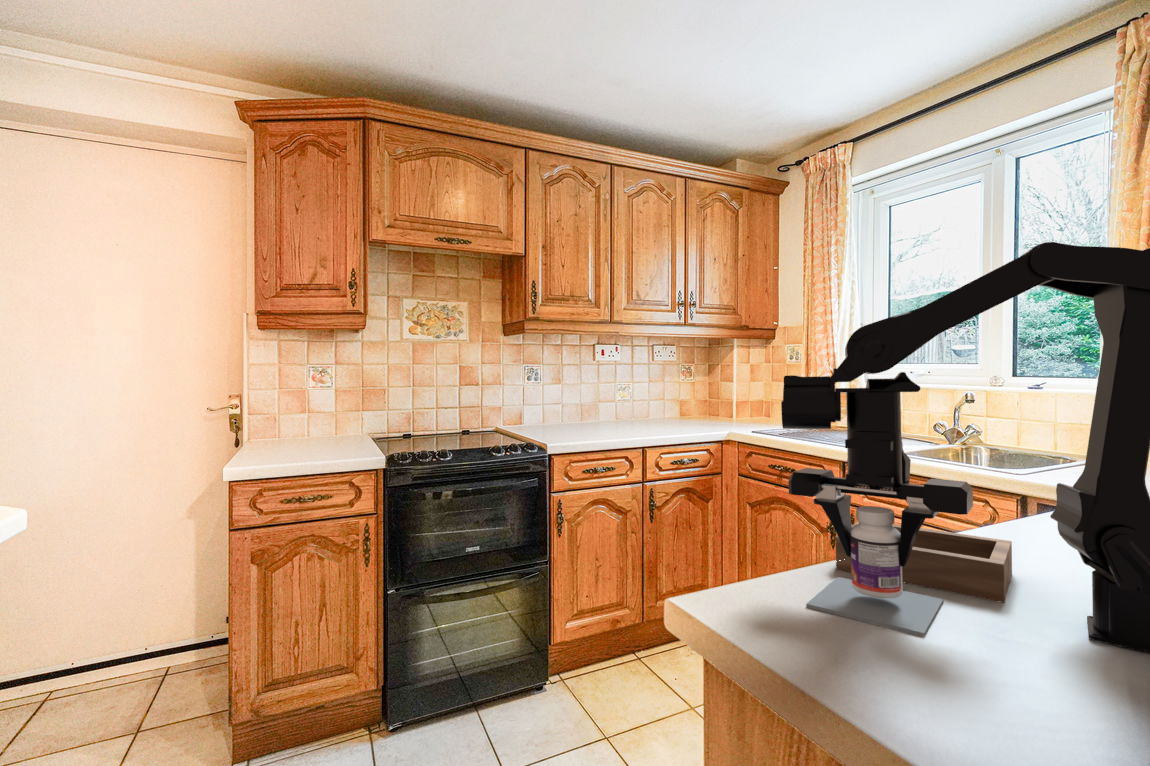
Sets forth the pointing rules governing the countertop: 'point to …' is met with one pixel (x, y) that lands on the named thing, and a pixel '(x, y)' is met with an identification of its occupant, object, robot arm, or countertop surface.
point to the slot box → (953, 563)
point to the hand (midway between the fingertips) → (875, 560)
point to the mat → (878, 607)
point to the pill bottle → (876, 553)
